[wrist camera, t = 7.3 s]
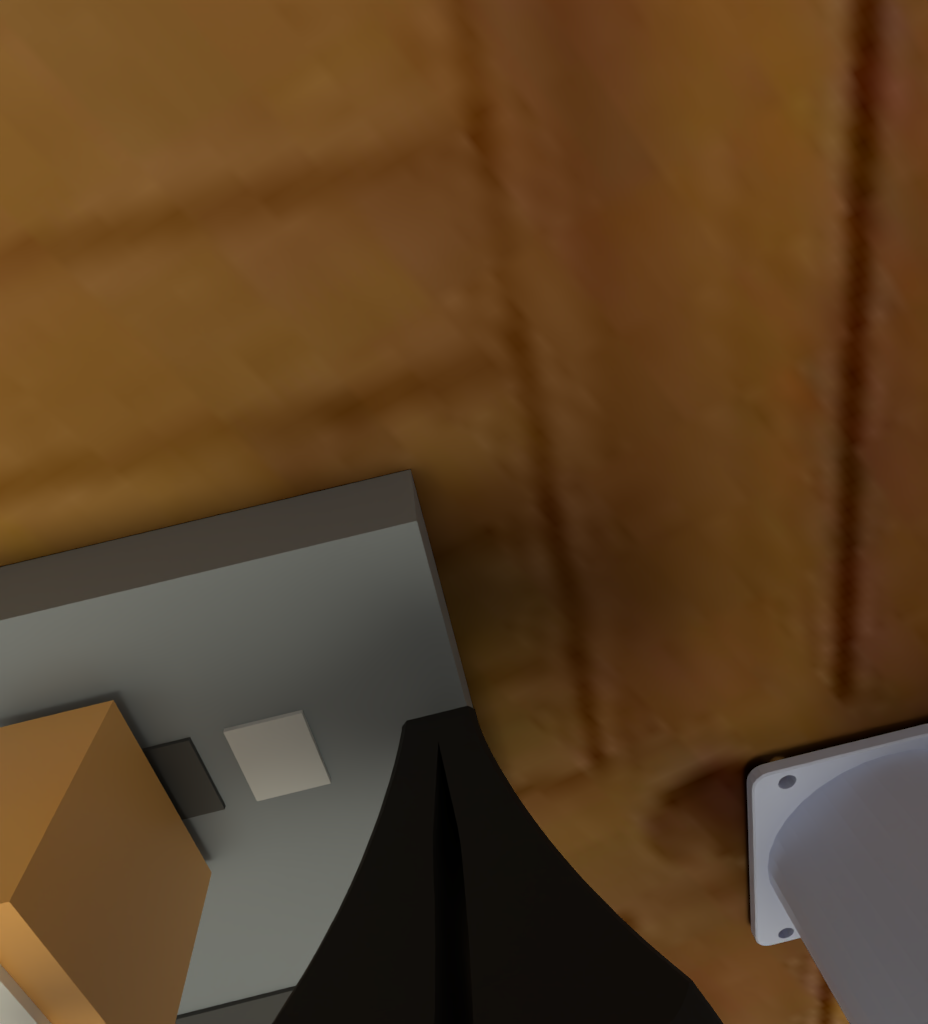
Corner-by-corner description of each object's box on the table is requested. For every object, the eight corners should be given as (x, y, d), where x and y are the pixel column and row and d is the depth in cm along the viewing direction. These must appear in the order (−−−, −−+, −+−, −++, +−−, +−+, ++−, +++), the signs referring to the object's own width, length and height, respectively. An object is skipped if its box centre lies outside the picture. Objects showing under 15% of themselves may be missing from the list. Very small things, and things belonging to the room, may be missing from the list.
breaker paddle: (113, 699, 13) (3, 912, 9) (211, 872, 15) (156, 1101, 11) (-14, 730, 13) (-177, 956, 9) (103, 899, 15) (12, 1136, 11)
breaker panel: (410, 469, 14) (433, 659, 9) (530, 928, 21) (589, 1204, 16) (-433, 670, 14) (-1005, 1008, 8) (-31, 1068, 21) (-187, 1402, 15)
